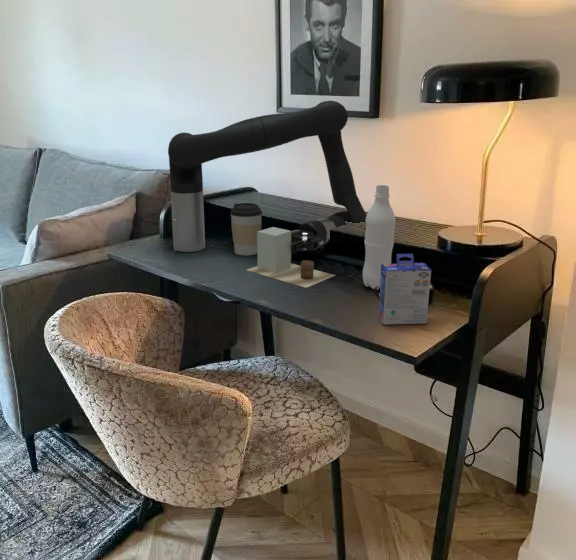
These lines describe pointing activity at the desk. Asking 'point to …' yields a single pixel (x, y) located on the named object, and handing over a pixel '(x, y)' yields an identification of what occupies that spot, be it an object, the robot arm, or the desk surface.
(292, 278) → the oak board
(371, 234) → the water bottle
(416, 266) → the ink cartridge box
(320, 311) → the desk surface
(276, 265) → the pale upright block
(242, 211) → the coffee cup
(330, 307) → the desk surface
